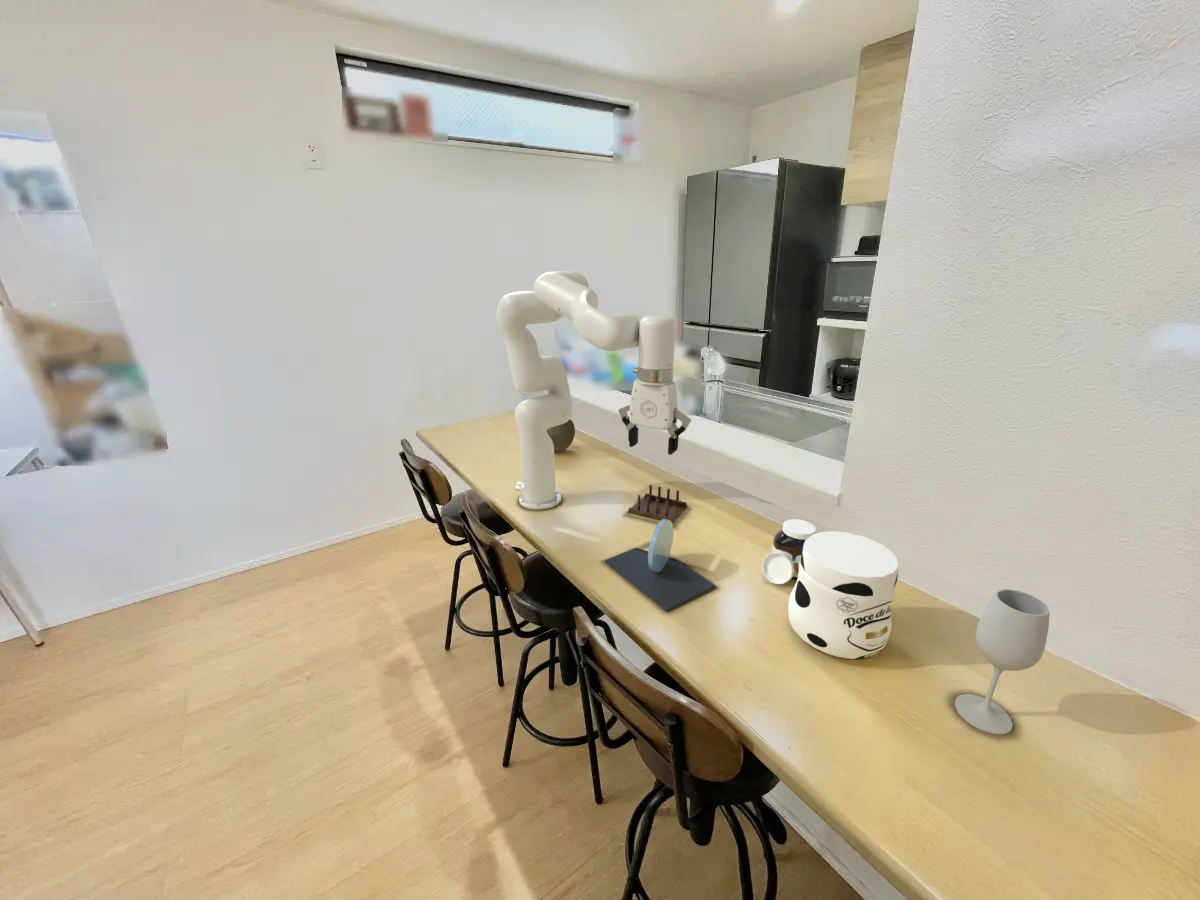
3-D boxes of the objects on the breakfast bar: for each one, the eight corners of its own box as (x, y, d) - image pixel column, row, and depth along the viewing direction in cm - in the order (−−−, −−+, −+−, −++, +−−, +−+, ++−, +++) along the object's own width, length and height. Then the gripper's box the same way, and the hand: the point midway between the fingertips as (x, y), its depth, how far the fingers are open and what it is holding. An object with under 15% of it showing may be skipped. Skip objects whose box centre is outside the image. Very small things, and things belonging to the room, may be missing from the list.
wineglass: (941, 696, 80) (975, 587, 72) (985, 692, 80) (1023, 584, 73) (979, 737, 73) (1020, 621, 65) (1027, 733, 73) (1073, 618, 66)
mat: (604, 562, 117) (604, 559, 117) (650, 544, 124) (650, 542, 124) (666, 611, 100) (666, 609, 100) (715, 587, 107) (715, 585, 107)
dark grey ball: (533, 449, 190) (531, 411, 185) (567, 443, 196) (566, 407, 191) (545, 461, 178) (543, 421, 173) (581, 455, 184) (580, 416, 179)
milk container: (882, 684, 82) (904, 594, 76) (775, 645, 91) (787, 561, 84) (888, 624, 96) (908, 543, 89) (795, 595, 104) (807, 520, 98)
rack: (626, 515, 139) (626, 496, 137) (644, 498, 149) (644, 480, 146) (673, 527, 132) (674, 507, 130) (688, 509, 142) (689, 490, 140)
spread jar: (815, 566, 114) (822, 521, 110) (818, 594, 104) (826, 547, 100) (761, 557, 118) (766, 513, 114) (759, 584, 108) (765, 537, 104)
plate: (644, 577, 107) (652, 524, 105) (664, 563, 117) (671, 514, 116) (649, 579, 106) (657, 525, 105) (669, 564, 117) (676, 516, 115)
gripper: (612, 374, 108) (611, 447, 114) (686, 383, 100) (681, 461, 106) (628, 368, 114) (626, 437, 120) (699, 376, 106) (694, 450, 112)
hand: (652, 448), depth 113 cm, fingers open, 9 cm apart
